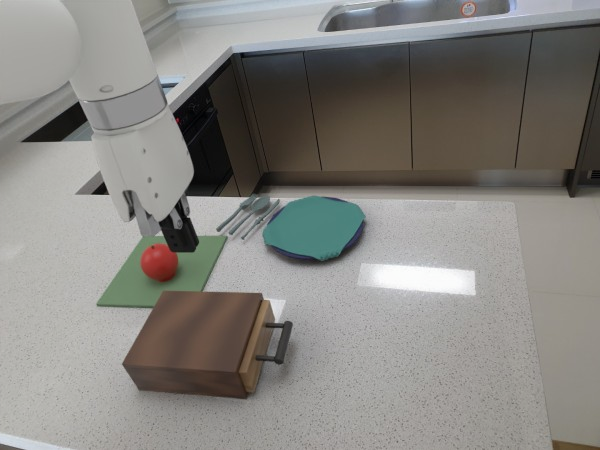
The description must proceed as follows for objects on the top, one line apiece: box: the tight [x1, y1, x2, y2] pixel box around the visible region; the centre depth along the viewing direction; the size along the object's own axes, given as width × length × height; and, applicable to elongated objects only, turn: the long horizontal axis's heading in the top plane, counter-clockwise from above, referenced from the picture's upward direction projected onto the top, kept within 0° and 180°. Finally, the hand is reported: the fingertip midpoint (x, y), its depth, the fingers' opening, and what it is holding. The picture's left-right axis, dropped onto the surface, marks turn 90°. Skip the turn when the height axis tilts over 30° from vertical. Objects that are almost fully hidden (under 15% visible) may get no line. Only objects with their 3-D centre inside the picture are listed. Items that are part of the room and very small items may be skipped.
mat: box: [95, 235, 228, 309], centre depth 92 cm, size 20×20×1 cm
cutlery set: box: [215, 193, 367, 262], centre depth 95 cm, size 20×30×2 cm, turn 59°
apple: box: [140, 243, 178, 282], centre depth 88 cm, size 7×7×8 cm
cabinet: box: [121, 290, 265, 400], centre depth 72 cm, size 18×15×7 cm
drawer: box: [238, 299, 294, 393], centre depth 71 cm, size 21×13×5 cm, turn 79°
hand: (185, 247), depth 55 cm, fingers closed
